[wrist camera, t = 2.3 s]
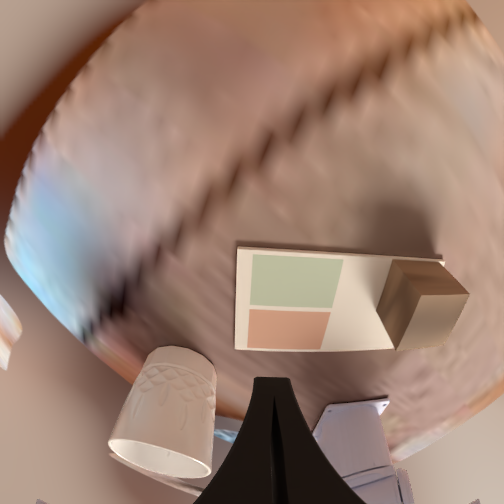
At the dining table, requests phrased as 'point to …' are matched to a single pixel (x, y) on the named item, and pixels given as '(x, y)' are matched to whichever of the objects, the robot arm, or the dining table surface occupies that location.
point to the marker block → (420, 304)
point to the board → (310, 300)
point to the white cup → (169, 415)
